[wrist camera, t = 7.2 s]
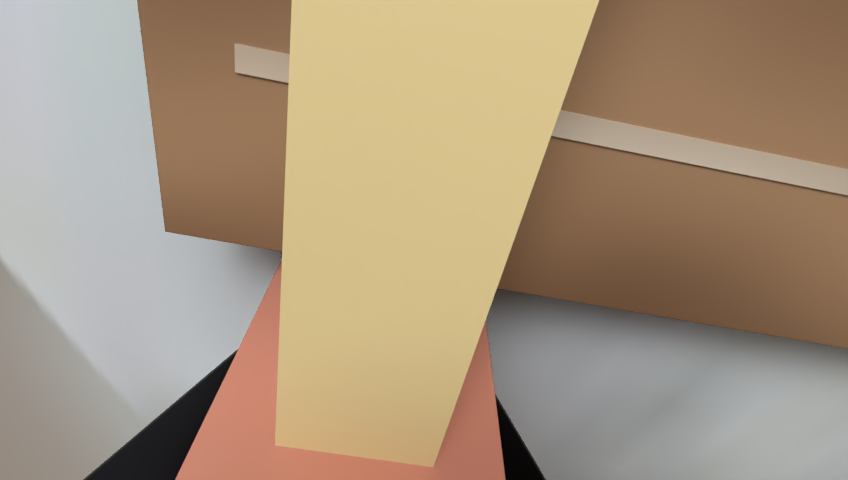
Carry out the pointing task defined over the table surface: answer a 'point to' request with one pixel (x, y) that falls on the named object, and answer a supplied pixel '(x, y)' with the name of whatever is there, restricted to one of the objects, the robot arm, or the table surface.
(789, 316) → the board
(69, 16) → the table surface
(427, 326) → the pink and yellow hammer
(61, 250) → the table surface
